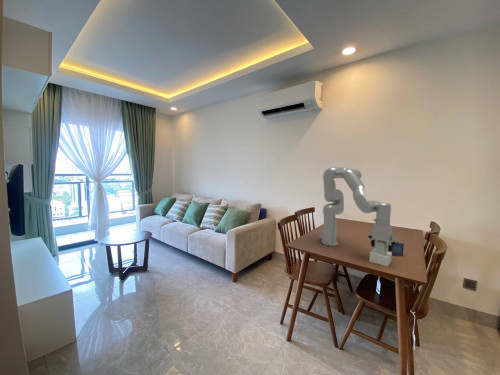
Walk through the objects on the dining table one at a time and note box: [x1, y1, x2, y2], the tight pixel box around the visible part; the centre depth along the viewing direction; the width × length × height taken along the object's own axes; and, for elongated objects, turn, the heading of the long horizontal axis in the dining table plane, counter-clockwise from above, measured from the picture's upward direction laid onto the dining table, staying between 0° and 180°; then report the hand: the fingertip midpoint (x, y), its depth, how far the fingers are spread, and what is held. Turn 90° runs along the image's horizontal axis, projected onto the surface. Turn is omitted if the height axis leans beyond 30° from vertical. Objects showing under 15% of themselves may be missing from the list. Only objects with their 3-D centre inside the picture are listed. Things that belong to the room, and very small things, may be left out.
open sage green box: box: [375, 240, 389, 255], centre depth 133 cm, size 5×5×8 cm
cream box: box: [368, 247, 393, 267], centre depth 134 cm, size 10×10×6 cm
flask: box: [387, 240, 405, 257], centre depth 144 cm, size 9×3×11 cm, turn 83°
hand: (381, 248), depth 133 cm, fingers open, 9 cm apart
